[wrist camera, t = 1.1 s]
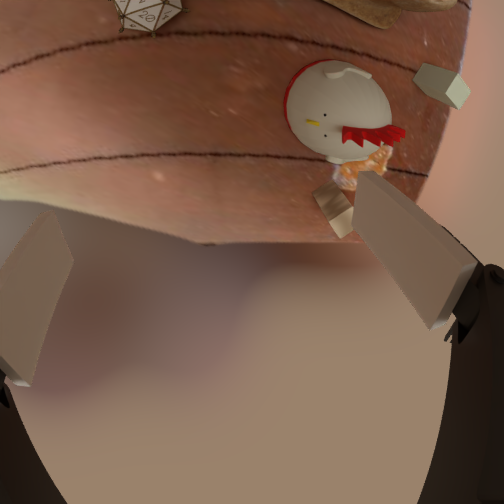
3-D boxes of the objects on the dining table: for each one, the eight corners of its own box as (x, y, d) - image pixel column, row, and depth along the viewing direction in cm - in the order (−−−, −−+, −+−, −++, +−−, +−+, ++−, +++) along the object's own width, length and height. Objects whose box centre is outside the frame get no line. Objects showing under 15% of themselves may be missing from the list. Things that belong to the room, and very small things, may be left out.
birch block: (332, 179, 44) (352, 206, 38) (342, 196, 46) (362, 224, 40) (311, 192, 45) (328, 221, 39) (322, 209, 48) (340, 238, 42)
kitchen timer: (279, 60, 31) (320, 73, 20) (373, 61, 32) (443, 82, 20) (287, 154, 40) (321, 210, 29) (371, 146, 41) (426, 195, 30)
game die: (173, 7, 27) (218, 10, 23) (124, 46, 27) (158, 56, 23) (141, -37, 18) (182, -49, 15) (84, 4, 19) (109, -1, 15)
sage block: (423, 62, 31) (457, 73, 25) (437, 78, 33) (471, 91, 27) (412, 80, 33) (445, 93, 27) (426, 95, 35) (459, 110, 29)
